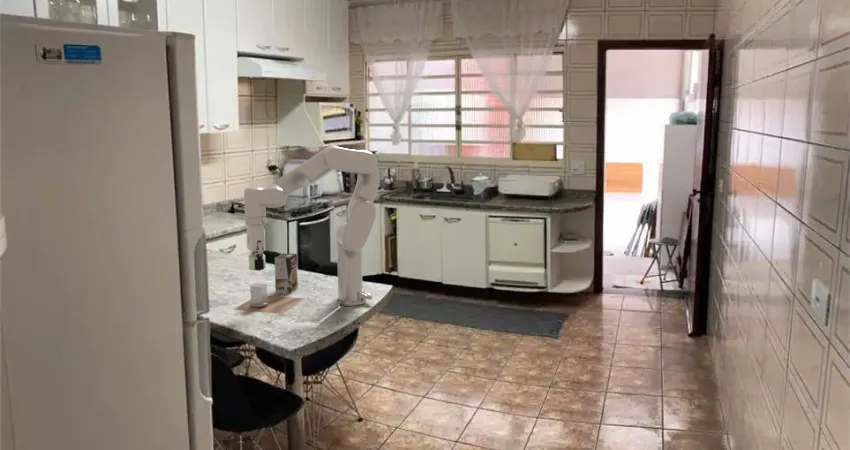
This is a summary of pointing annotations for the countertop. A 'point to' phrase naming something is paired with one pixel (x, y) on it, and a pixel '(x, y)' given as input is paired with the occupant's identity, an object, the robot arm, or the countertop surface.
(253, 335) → the countertop surface
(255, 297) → the grey piece
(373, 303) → the countertop surface
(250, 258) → the cap
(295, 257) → the coffee box
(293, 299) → the base board
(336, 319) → the countertop surface
